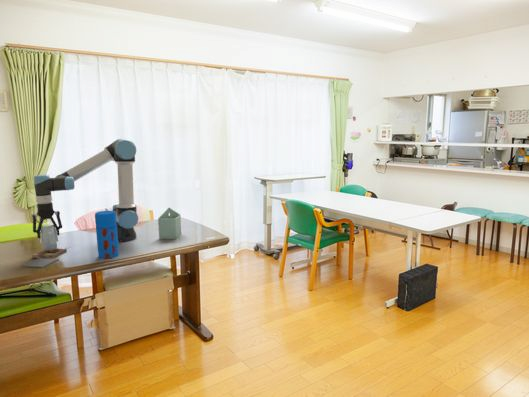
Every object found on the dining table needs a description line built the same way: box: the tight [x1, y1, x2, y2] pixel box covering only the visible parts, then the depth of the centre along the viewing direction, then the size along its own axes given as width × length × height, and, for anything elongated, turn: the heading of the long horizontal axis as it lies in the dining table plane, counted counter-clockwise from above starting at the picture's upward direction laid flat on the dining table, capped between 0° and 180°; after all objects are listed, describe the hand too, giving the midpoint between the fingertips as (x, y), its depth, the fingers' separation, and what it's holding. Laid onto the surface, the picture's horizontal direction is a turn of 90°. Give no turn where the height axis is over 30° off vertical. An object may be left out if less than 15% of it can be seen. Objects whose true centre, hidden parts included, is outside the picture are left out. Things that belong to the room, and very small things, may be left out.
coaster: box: [21, 258, 59, 268], centre depth 200 cm, size 12×12×1 cm
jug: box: [40, 224, 58, 250], centre depth 211 cm, size 13×7×13 cm, turn 40°
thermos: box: [94, 210, 120, 260], centre depth 210 cm, size 11×11×25 cm
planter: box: [157, 207, 182, 240], centre depth 246 cm, size 16×8×20 cm, turn 133°
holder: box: [31, 247, 68, 259], centre depth 213 cm, size 12×12×2 cm
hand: (49, 242), depth 213 cm, fingers closed on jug, 7 cm apart
